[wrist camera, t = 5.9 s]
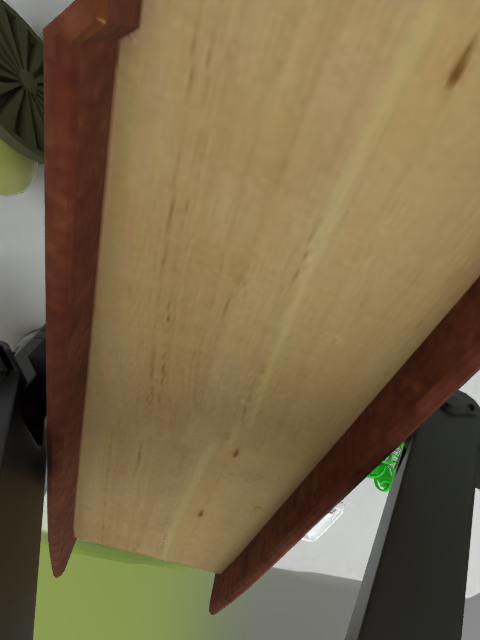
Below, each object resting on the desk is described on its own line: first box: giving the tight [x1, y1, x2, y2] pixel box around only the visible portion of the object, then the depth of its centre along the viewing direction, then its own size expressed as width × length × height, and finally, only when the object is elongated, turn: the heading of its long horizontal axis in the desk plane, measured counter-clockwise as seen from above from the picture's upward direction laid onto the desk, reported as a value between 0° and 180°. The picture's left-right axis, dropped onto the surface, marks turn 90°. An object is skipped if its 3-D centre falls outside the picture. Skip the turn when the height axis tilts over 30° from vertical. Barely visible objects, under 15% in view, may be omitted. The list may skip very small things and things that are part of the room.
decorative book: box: [43, 0, 480, 615], centre depth 20 cm, size 22×8×30 cm, turn 161°
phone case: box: [301, 503, 344, 542], centre depth 68 cm, size 7×1×15 cm
